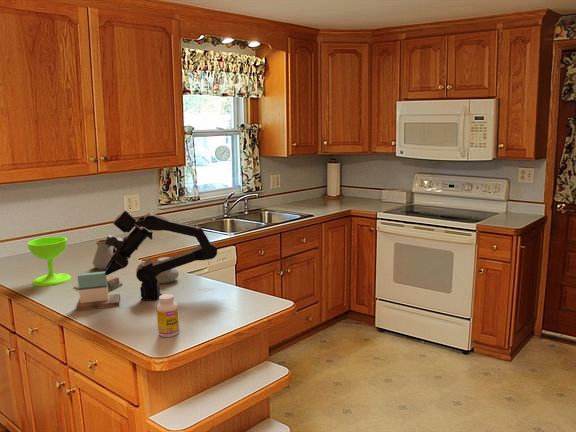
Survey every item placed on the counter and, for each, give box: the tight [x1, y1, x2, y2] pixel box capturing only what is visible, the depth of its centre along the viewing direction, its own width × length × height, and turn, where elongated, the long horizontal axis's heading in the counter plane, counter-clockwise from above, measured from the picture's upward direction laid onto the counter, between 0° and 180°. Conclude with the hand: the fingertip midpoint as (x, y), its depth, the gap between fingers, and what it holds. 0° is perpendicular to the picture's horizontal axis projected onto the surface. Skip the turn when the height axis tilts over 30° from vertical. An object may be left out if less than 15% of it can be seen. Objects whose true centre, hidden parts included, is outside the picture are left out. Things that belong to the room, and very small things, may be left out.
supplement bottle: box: [156, 293, 180, 338], centre depth 178 cm, size 7×7×13 cm
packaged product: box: [73, 275, 124, 292], centre depth 231 cm, size 18×5×10 cm
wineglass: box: [26, 236, 72, 287], centre depth 240 cm, size 16×16×18 cm
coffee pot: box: [92, 239, 114, 271], centre depth 254 cm, size 21×12×15 cm, turn 33°
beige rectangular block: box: [78, 286, 109, 303], centre depth 209 cm, size 10×3×6 cm, turn 104°
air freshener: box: [156, 256, 179, 284], centre depth 234 cm, size 11×8×10 cm
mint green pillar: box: [77, 270, 108, 288], centre depth 208 cm, size 10×2×5 cm, turn 104°
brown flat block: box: [76, 293, 121, 311], centre depth 210 cm, size 15×10×2 cm, turn 104°
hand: (106, 271), depth 208 cm, fingers open, 9 cm apart
